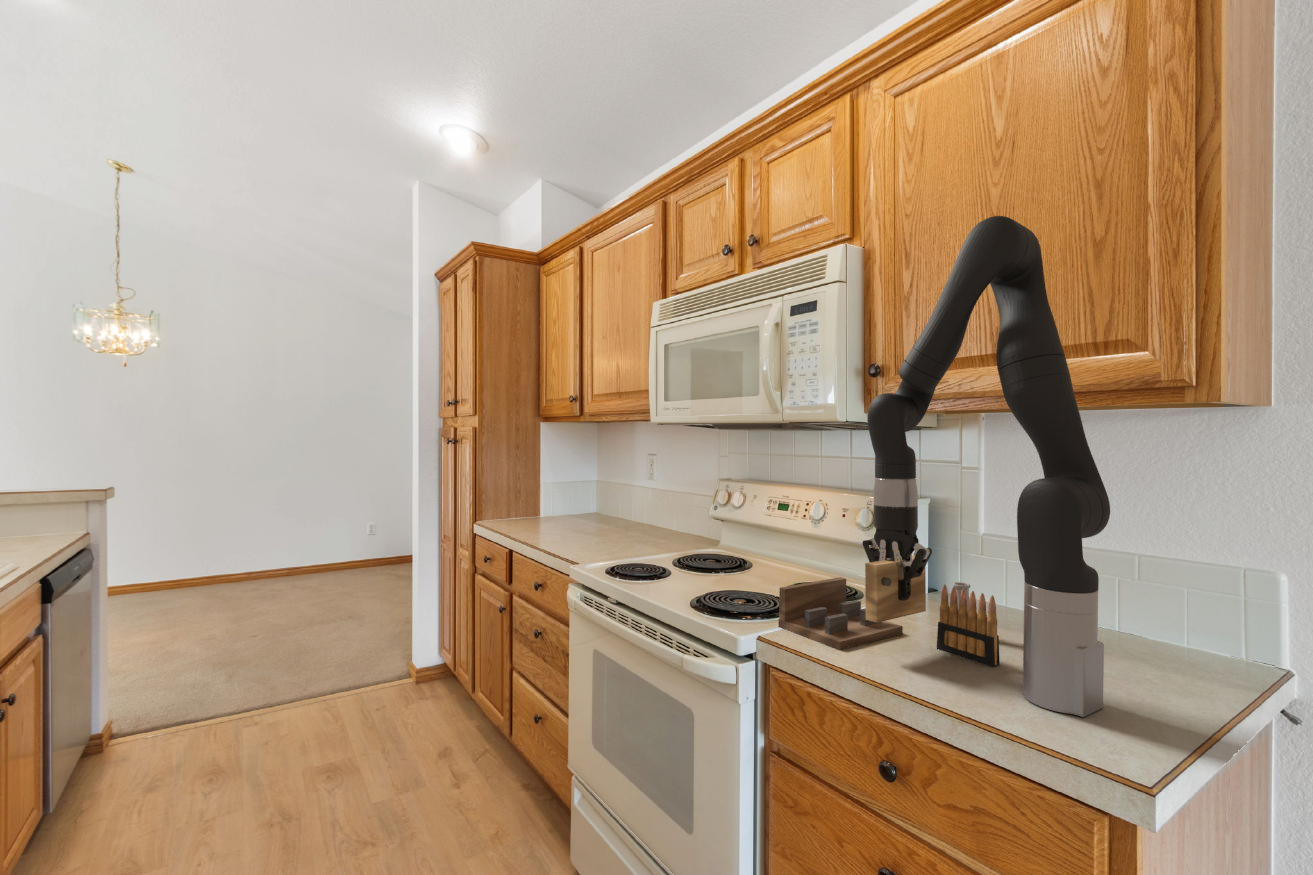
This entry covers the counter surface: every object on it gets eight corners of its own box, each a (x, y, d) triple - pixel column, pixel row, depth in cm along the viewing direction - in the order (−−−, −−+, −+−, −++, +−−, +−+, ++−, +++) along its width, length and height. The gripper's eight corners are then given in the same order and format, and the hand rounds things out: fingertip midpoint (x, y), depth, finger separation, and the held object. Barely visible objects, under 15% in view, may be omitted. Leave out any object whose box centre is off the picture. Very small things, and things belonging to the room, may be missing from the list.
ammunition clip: (999, 665, 107) (1000, 595, 107) (993, 667, 106) (994, 597, 106) (942, 647, 116) (943, 582, 116) (936, 648, 115) (937, 583, 115)
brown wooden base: (902, 633, 124) (903, 593, 124) (839, 650, 114) (839, 606, 114) (839, 613, 137) (839, 576, 137) (778, 626, 128) (778, 587, 128)
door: (930, 612, 116) (930, 558, 116) (881, 624, 108) (881, 566, 108) (914, 608, 119) (914, 555, 119) (865, 619, 111) (865, 563, 111)
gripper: (942, 505, 110) (943, 603, 110) (877, 499, 122) (877, 588, 122) (916, 507, 106) (917, 609, 106) (851, 501, 118) (851, 593, 118)
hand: (896, 597), depth 114 cm, fingers closed on door, 2 cm apart
